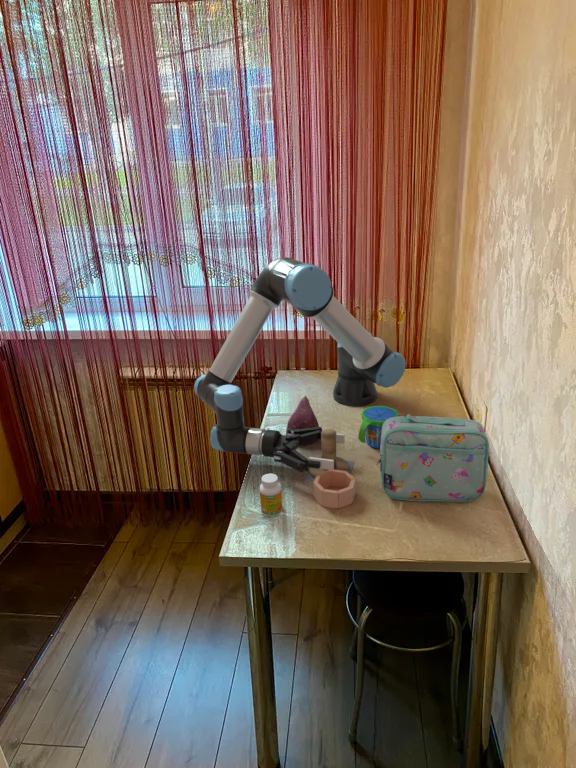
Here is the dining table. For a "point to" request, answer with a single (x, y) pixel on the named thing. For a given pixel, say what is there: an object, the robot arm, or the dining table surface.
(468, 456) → the lunch box
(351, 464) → the mat
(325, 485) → the bowl
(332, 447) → the paper towel holder
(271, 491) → the supplement bottle
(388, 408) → the snack cup
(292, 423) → the vegetable
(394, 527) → the dining table surface
